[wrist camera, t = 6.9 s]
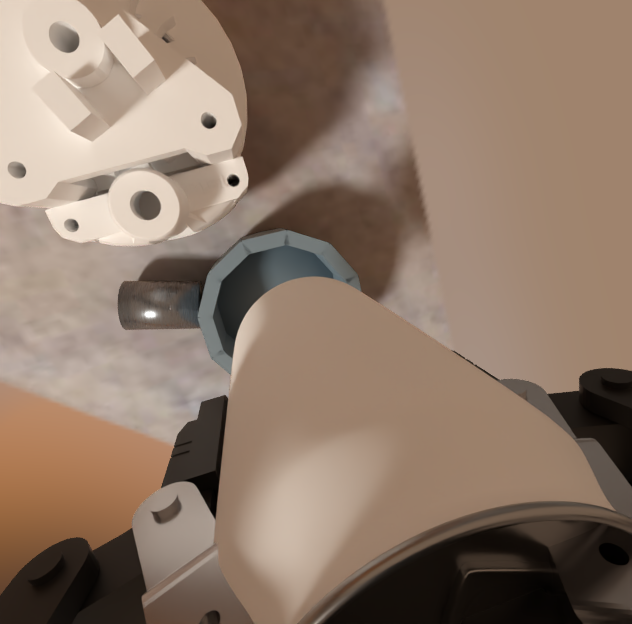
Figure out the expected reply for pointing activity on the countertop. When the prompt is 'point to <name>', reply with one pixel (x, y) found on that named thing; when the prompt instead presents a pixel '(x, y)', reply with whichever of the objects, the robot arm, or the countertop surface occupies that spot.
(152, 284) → the shaft
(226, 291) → the collar
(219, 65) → the mechanical part
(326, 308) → the can
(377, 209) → the countertop surface
